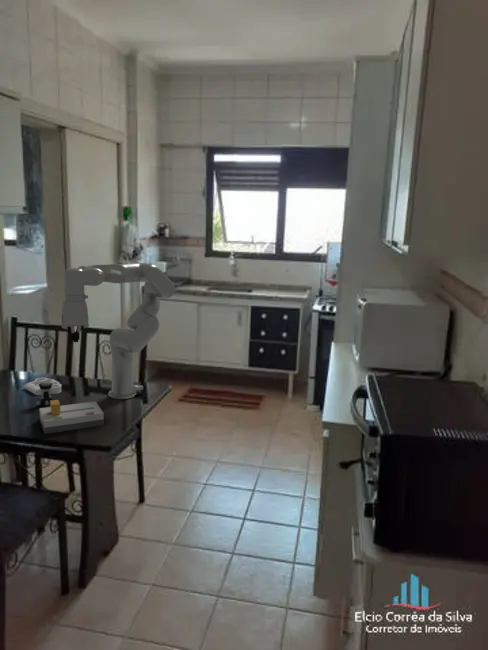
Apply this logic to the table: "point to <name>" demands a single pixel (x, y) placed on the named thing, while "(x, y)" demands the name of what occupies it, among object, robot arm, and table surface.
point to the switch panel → (71, 417)
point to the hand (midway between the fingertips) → (75, 341)
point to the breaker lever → (55, 407)
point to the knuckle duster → (35, 386)
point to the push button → (45, 393)
